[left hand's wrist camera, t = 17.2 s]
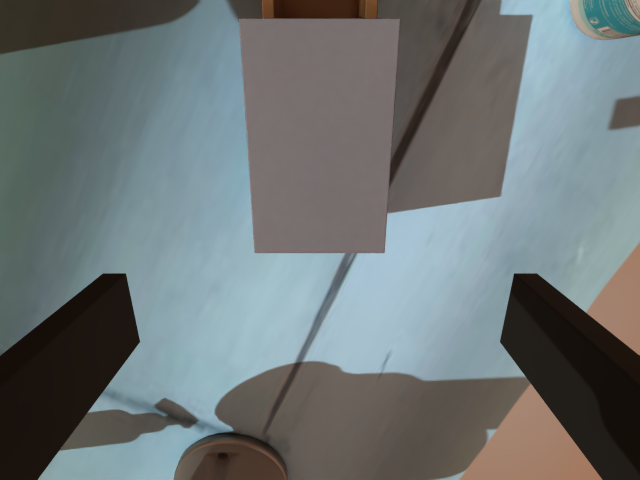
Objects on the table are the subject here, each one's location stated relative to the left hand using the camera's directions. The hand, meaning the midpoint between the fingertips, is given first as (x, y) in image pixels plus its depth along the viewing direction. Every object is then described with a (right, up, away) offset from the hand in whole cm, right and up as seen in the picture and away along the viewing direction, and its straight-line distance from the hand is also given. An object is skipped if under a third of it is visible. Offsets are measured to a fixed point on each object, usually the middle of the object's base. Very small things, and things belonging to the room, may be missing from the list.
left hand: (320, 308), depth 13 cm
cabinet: (0, +12, +23) cm, 26 cm away
